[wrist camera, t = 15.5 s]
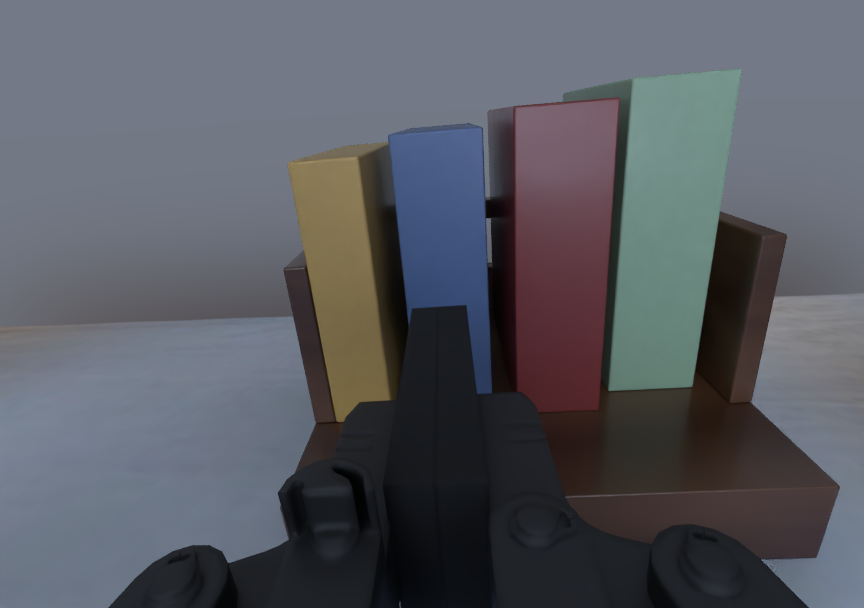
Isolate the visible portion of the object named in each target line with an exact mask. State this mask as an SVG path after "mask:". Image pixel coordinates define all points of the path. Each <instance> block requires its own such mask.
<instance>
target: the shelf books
mask: <svg viewBox="0 0 864 608" xmlns="http://www.w3.org/2000/svg"><path fill="white" fill-rule="evenodd" d="M619 108H620V98H619V97H614V98H603V99H591V100H580V101H568V102H557V103H545V104H533V105H523V106H513V107H507V108H501V109H496V110H489V111H488V144H489V174H490V175H489V176H490V208H491V236H492V237H491V238H492V272H493V304H494V319H495V323H496V327H497V331H498V335H499V340H500V344H501V348H502V352H503V357H504V361H505V365H506V369H507V374H508V378H509V382H510V386H511V390H512V392H522V393H524V394H525V395H526V396H527V397H528V398H529V399H530V400H531V401H532V402H533V403H534V404H535V405H536V407H537V410H538V413H542V412H563V411H584V410H598V409H599V400H600V385H601V370H602V356H603V341H604V327H605V312H606V298H607V283H608V268H609V254H610V239H611V225H612V210H613V195H614V181H615V166H616V152H617V137H618V123H619ZM288 169H289V175H290V180H291V185H292V191H293V196H294V200H295V206H296V212H297V216H298V222H299V227H300V233H301V238H302V243H303V248H304V254H305V259H306V264H307V269H308V275H309V280H310V285H311V290H312V296H313V301H314V306H315V312H316V317H317V322H318V327H319V333H320V338H321V343H322V348H323V354H324V359H325V364H326V369H327V375H328V380H329V385H330V390H331V396H332V401H333V406H334V411H335V417H336V421H337V422H344V421H345V418H346V416H347V415H348V414H349V413H350V412H351V411H352V410H353V409H354V408H355V407H356V406H357V404H358V403H359V402H369V401H387V400H397V394H398V389H399V383H400V378H401V372H402V366H403V360H404V354H405V348H406V342H407V336H408V330H409V325H408V316H407V307H406V297H405V288H404V279H403V270H402V261H401V251H400V242H399V233H398V224H397V215H396V205H395V196H394V187H393V178H392V168H391V159H390V150H389V142H385V143H374V144H361V145H349V146H344V147H340V148H336V149H333V150H329V151H326V152H322V153H319V154H315V155H312V156H308V157H304V158H301V159H297V160H293V161H290V162H289V163H288Z"/></svg>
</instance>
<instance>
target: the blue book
mask: <svg viewBox="0 0 864 608" xmlns="http://www.w3.org/2000/svg"><path fill="white" fill-rule="evenodd" d="M388 141H389V150H390V159H391V168H392V178H393V187H394V196H395V205H396V215H397V224H398V233H399V242H400V251H401V261H402V270H403V279H404V288H405V297H406V307H407V316H408V325H409V324H410V318H411V312H412V308H425V307H441V306H457V305H466V306H467V314H468V322H469V331H470V339H471V347H472V356H473V364H474V372H475V381H476V389H477V394H487V393H492V377H491V349H490V320H489V292H488V264H487V236H486V207H485V181H484V180H485V179H484V151H483V128H482V127H479V126H476V125H473V124H470V123H467V124H456V125H444V126H432V127H420V128H410V129H407V130H404V131H400V132H396V133H393V134H390V135H388Z"/></svg>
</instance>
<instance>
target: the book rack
mask: <svg viewBox="0 0 864 608" xmlns="http://www.w3.org/2000/svg"><path fill="white" fill-rule="evenodd" d="M485 207H486V218H491V208H490V197H485ZM786 239H787V235H786V234H784V233H781V232H778V231H775V230H773V229H770V228H767V227H764V226H761V225H758V224H755V223H752V222H749V221H746V220H744V219H740V218H738V217H735V216H732V215H729V214H726V213H723V212H720V214H719V221H718V227H717V233H716V240H715V246H714V252H713V259H712V265H711V272H710V278H709V284H708V291H707V297H706V304H705V310H704V316H703V323H702V329H701V335H700V342H699V348H698V355H697V361H696V367H695V374H694V380H693V386H692V387H687V388H666V389H646V390H625V391H608V389H607V387H606V386H605V384H604V382H603V381H602V379H601V385H600V400H599V409H598V410H584V411H563V412H542V413H538V414H539V417H540V420H541V425H542V426H543V429H544V432H545V436H546V440H547V442H548V445H549V448H550V451H551V454H552V457H553V461H554V464H555V467H556V470H557V473H558V476H559V479H560V482H561V486H562V489H563V492H564V495H565V497H566V499H567V501H568V503H569V505H570V506H571V507H572V508H573V509H575V510H576V511H577V513H578V515H579V516H580V517H581V518H582V519H583V520H585V521H586V522H587V523H588V524H590V525H592V526H594V527H595V528H597V529H599V530H601V531H603V532H606V533H609V534H612V535H615V536H619V537H623V538H627V539H631V540H635V541H640V542H644V543H648V544H652V543H653V541H654V540H655V538H656V536H657V534H658V533H659V532H661V531H663V530H665V529H667V528H669V527H671V526H672V525H685V524H694V525H698V526H703V527H708V528H712V529H715V530H717V531H719V532H721V533H723V534H726V535H728V536H730V537H732V538H734V539H736V540H737V541H739V542H740V543H741V544H742V545H744V546H745V547H746V548H747V549H749V550H750V551H751V552H753V553H754V554H755V555H756V556H757V557H758V558H759V559H787V558H816V557H817V555H818V552H819V549H820V546H821V543H822V540H823V537H824V534H825V531H826V528H827V525H828V522H829V519H830V516H831V512H832V509H833V506H834V503H835V500H836V497H837V494H838V491H839V488H840V486H839V485H838V484H837V483H836V482H835V481H834V480H833V479H832V478H830V477H829V476H828V475H827V474H826V473H825V472H824V471H823V470H822V469H821V468H820V467H819V466H818V465H817V464H816V463H814V462H813V461H812V460H811V459H810V458H809V457H808V456H807V455H806V454H805V453H804V452H803V451H802V450H801V449H800V448H799V447H797V446H796V445H795V444H794V443H793V442H792V441H791V440H790V439H789V438H788V437H787V436H786V435H785V434H784V433H783V432H781V431H780V430H779V429H778V428H777V427H776V426H775V425H774V424H773V423H772V422H771V421H770V420H769V419H768V418H767V417H765V416H764V415H763V414H762V413H761V412H760V411H759V410H758V409H757V408H756V407H755V406H754V405H753V404H752V403H751V401H752V396H753V392H754V387H755V383H756V378H757V373H758V369H759V364H760V359H761V355H762V350H763V346H764V341H765V336H766V332H767V327H768V322H769V318H770V313H771V309H772V304H773V299H774V294H775V289H776V285H777V280H778V276H779V272H780V267H781V262H782V258H783V253H784V248H785V244H786ZM487 264H488V292H489V320H490V349H491V377H492V393H505V392H512V390H511V386H510V382H509V378H508V374H507V369H506V365H505V361H504V357H503V352H502V348H501V344H500V340H499V335H498V331H497V327H496V323H495V319H494V304H493V272H492V263H487ZM284 274H285V279H286V283H287V288H288V293H289V298H290V303H291V308H292V312H293V317H294V322H295V327H296V331H297V336H298V341H299V346H300V350H301V355H302V360H303V365H304V369H305V374H306V379H307V384H308V388H309V393H310V398H311V402H312V407H313V412H314V417H315V421H316V425H315V427H314V429H313V432H312V434H311V436H310V439H309V441H308V443H307V446H306V448H305V450H304V453H303V455H302V457H301V460H300V462H299V464H298V467H297V469H296V471H295V473H296V472H297V471H298V470H300V469H301V468H303V467H305V466H307V465H310V464H312V463H314V462H316V461H319V460H324V459H330V458H332V457H333V454H334V452H336V445H337V442H338V439H339V437H340V433H341V430H342V427H343V424H344V422H337V421H336V417H335V411H334V406H333V401H332V396H331V390H330V385H329V380H328V375H327V369H326V364H325V359H324V354H323V348H322V343H321V338H320V333H319V327H318V322H317V317H316V312H315V306H314V301H313V296H312V290H311V285H310V280H309V275H308V269H307V264H306V259H305V254H304V250H303V251H302V252H301V253H300V254H299V255H298V256H297V257H296V258H294V259H293V260H292V261H291V262H290V263H289V264H288V265H287V266H286V267H285V268H284ZM399 384H400V383H399ZM398 390H399V389H398ZM397 396H398V394H397ZM280 508H281V512H282V516H283V520H284V523H285V527H286V531H287V535H288V538H290V537H289V533H288V529H287V525H286V522H285V518H284V514H283V510H282V507H280Z"/></svg>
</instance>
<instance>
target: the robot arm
mask: <svg viewBox="0 0 864 608" xmlns="http://www.w3.org/2000/svg"><path fill="white" fill-rule="evenodd" d="M278 495H279V499H280V503H281V507H282V510H283V514H284V518H285V522H286V525H287V529H288V533H289V537H290V538H289V540H288V541H286V542H284V543H283V544H281V545H280V546H277V547H275V548H273V549H270V550H268V551H265V552H262V553H259V554H256V555H253V556H250V557H247V558H244V559H241V560H237V561H234V562H231V563H228V562H227V560H226V558H225V556H224V554H223V553H222V551H220V550H218V549H216V548H214V547H212V546H210V545H192V546H189V547H186V548H182V549H179V550H176V551H173V552H171V553H169V554H168V555H166V556H164V557H162V558H161V559H159V560H157V561H155V562H154V563H152V564H151V565H150V566H149V567H148V568H147V569H145V570H144V571H143V572H142V573H141V574H140V575H139V576H137V577H136V578H135V579H134V580H133V581H132V582H131V584H130V585H129V586H128V587H127V588H126V589H125V590H124V591H123V592H122V593H121V595H120V596H119V597H118V598H117V599H116V600H115V601H114V602H113V603H112V604H111V606H110V607H109V608H399V602H401V608H809V607H808V606H807V605H806V604H805V603H804V602H803V601H802V600H801V599H800V598H799V597H798V596H797V595H796V594H795V593H794V592H793V591H792V590H791V589H790V588H789V587H787V586H786V585H785V584H784V583H783V582H782V581H781V580H780V579H779V578H778V577H777V576H776V575H775V574H774V573H773V572H772V571H771V570H770V569H769V568H768V567H767V566H766V565H765V564H764V563H763V562H762V561H761V560H760V559H759V558H758V557H757V556H756V555H755V554H754V553H753V552H751V551H750V550H749V549H747V548H746V547H745V546H744V545H742V544H741V543H740V542H739V541H737V540H736V539H734V538H732V537H730V536H728V535H726V534H723V533H721V532H719V531H717V530H715V529H712V528H708V527H703V526H698V525H694V524H685V525H672V526H671V527H669V528H667V529H665V530H663V531H661V532H659V533H658V534H657V536H656V538H655V540H654V541H653V543H652V544H648V543H644V542H640V541H635V540H631V539H627V538H623V537H619V536H615V535H612V534H609V533H606V532H603V531H601V530H599V529H597V528H595V527H594V526H592V525H590V524H588V523H587V522H586V521H585V520H583V519H582V518H581V517H580V516H579V515H578V513H577V511H576V510H575V509H573V508H572V507H571V506H570V505H569V503H568V501H567V499H566V497H565V495H564V492H563V489H562V486H561V482H560V479H559V476H558V473H557V470H556V467H555V464H554V461H553V457H552V454H551V451H550V448H549V445H548V442H547V440H546V436H545V432H544V429H543V426H542V425H541V420H540V417H539V414H538V410H537V407H536V405H535V404H534V403H533V402H532V401H531V400H530V399H529V398H528V397H527V396H526V395H525V394H524V393H522V392H505V393H487V394H477V389H476V381H475V372H474V364H473V356H472V347H471V339H470V331H469V322H468V314H467V306H466V305H457V306H441V307H425V308H412V312H411V318H410V324H409V330H408V336H407V342H406V348H405V354H404V360H403V366H402V372H401V378H400V384H399V390H398V396H397V400H387V401H369V402H359V403H358V404H357V406H356V407H355V408H354V409H353V410H352V411H351V412H350V413H349V414H348V415H347V416H346V418H345V421H344V424H343V427H342V430H341V433H340V437H339V439H338V442H337V445H336V452H334V454H333V457H332V458H330V459H324V460H319V461H316V462H314V463H312V464H310V465H307V466H305V467H303V468H301V469H300V470H298V471H297V472H296V473H295V474H293V475H292V476H291V477H290V478H288V479H287V480H286V482H285V483H284V485H283V486H282V488H281V489H280V491H279V492H278Z"/></svg>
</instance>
